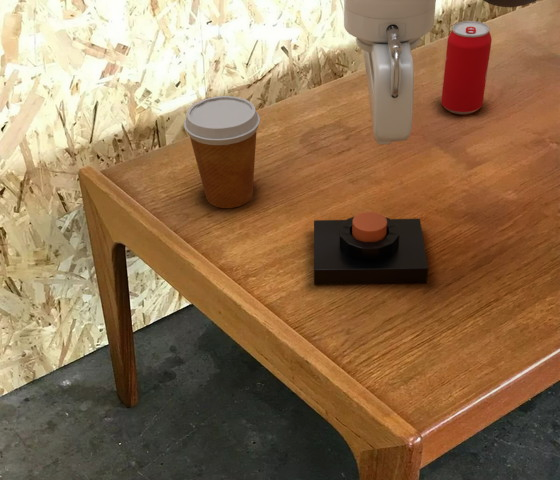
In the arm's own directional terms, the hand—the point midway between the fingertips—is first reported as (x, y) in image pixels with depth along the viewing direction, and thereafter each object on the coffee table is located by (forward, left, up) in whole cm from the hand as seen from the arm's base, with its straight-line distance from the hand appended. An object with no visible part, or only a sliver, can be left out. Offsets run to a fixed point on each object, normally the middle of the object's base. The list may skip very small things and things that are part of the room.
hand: (383, 137), depth 87 cm
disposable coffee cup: (+19, -12, -15) cm, 27 cm away
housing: (+1, +2, -15) cm, 15 cm away
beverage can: (-15, -36, -15) cm, 41 cm away
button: (+1, +2, -11) cm, 11 cm away
